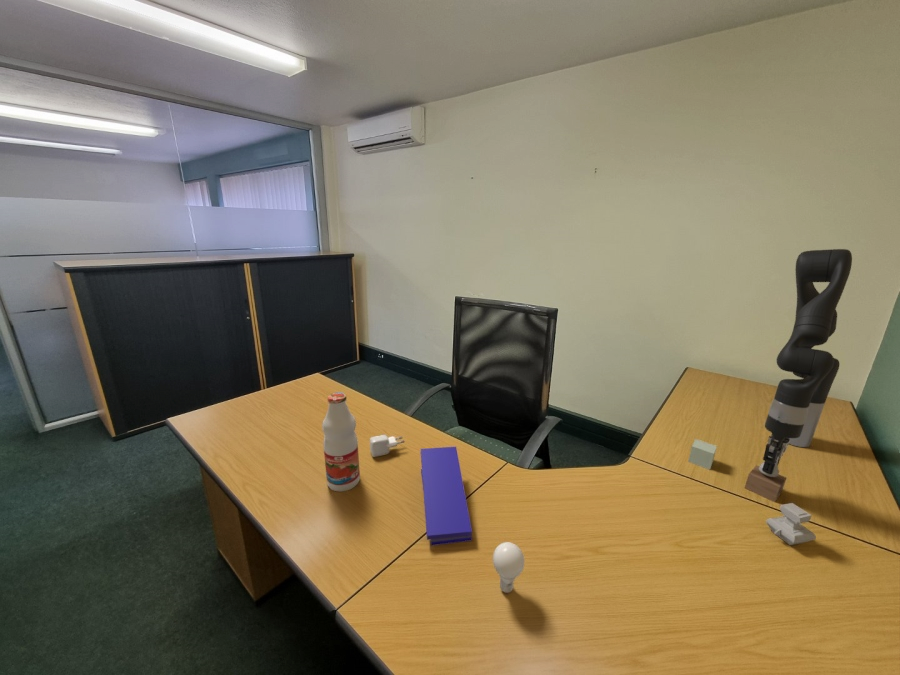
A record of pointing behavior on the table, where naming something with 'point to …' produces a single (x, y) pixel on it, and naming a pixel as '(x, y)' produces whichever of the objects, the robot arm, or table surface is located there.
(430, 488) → the purple rectangular block
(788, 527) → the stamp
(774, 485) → the walnut block
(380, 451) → the power adapter
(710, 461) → the sage block
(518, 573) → the lightbulb
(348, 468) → the fruit juice
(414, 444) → the table surface
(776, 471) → the rook chess piece
